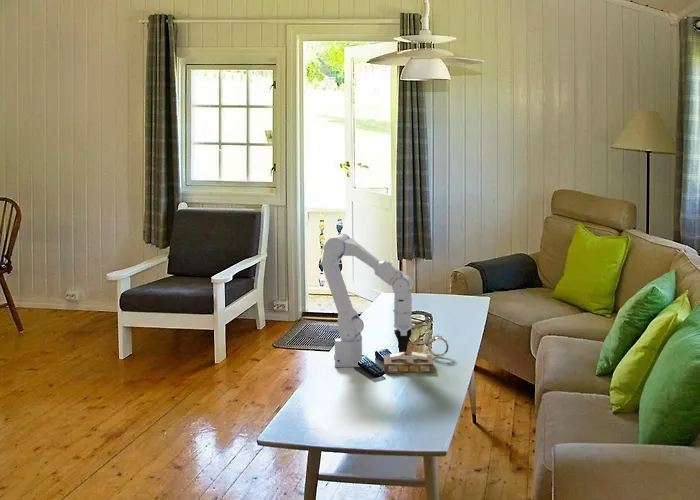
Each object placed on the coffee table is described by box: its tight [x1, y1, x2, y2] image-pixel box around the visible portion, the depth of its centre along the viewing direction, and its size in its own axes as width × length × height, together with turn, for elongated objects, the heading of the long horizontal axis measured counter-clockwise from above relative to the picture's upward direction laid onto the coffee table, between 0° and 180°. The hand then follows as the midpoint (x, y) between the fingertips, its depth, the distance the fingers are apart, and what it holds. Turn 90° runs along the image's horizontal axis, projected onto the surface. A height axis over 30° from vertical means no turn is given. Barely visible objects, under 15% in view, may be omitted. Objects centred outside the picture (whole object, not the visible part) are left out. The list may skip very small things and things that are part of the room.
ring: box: [427, 334, 450, 358], centre depth 291 cm, size 7×3×8 cm, turn 74°
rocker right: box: [411, 351, 428, 360], centre depth 278 cm, size 5×4×1 cm
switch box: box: [383, 354, 434, 374], centre depth 279 cm, size 16×10×4 cm, turn 89°
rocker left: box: [389, 351, 406, 360], centre depth 278 cm, size 5×4×1 cm
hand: (402, 351), depth 278 cm, fingers closed
